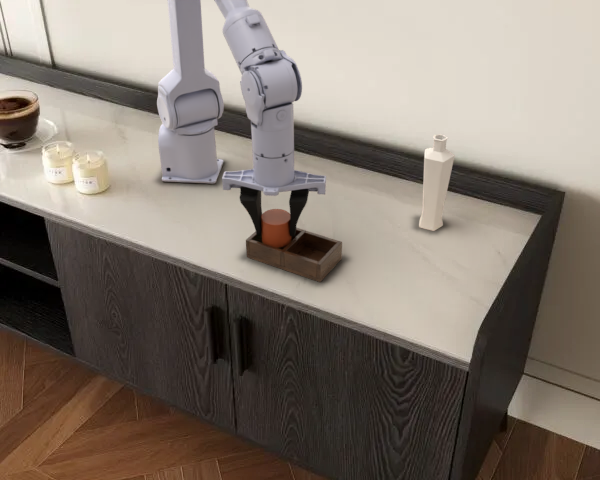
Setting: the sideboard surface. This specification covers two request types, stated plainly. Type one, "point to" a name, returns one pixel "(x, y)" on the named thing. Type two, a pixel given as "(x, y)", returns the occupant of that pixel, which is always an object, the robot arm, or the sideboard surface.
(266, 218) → the orange cylinder
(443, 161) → the white vase
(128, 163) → the sideboard surface
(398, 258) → the sideboard surface
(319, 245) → the divided tray
